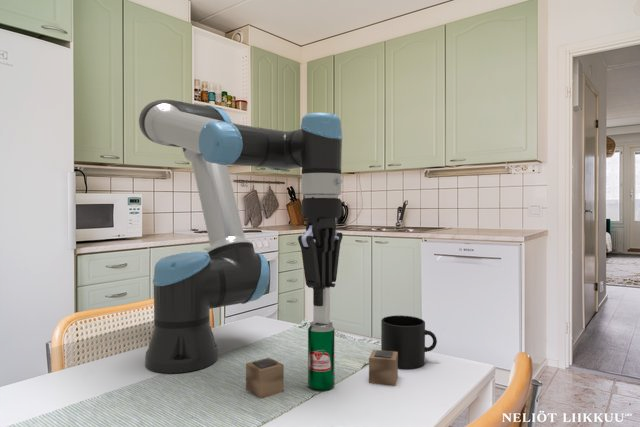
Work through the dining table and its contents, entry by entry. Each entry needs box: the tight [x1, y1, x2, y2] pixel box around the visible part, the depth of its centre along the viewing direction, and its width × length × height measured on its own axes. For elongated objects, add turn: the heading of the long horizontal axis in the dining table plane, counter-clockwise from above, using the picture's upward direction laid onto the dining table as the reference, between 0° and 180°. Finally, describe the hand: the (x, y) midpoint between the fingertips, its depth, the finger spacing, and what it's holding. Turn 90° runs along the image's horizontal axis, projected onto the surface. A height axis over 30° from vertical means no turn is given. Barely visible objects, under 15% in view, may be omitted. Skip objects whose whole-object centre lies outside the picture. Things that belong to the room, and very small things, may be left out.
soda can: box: [307, 321, 336, 392], centre depth 83 cm, size 5×5×12 cm
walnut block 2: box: [368, 349, 399, 387], centre depth 86 cm, size 5×5×5 cm
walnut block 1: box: [245, 357, 285, 399], centre depth 81 cm, size 5×5×5 cm
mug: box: [380, 314, 438, 370], centre depth 96 cm, size 9×12×9 cm
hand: (321, 321), depth 83 cm, fingers closed
